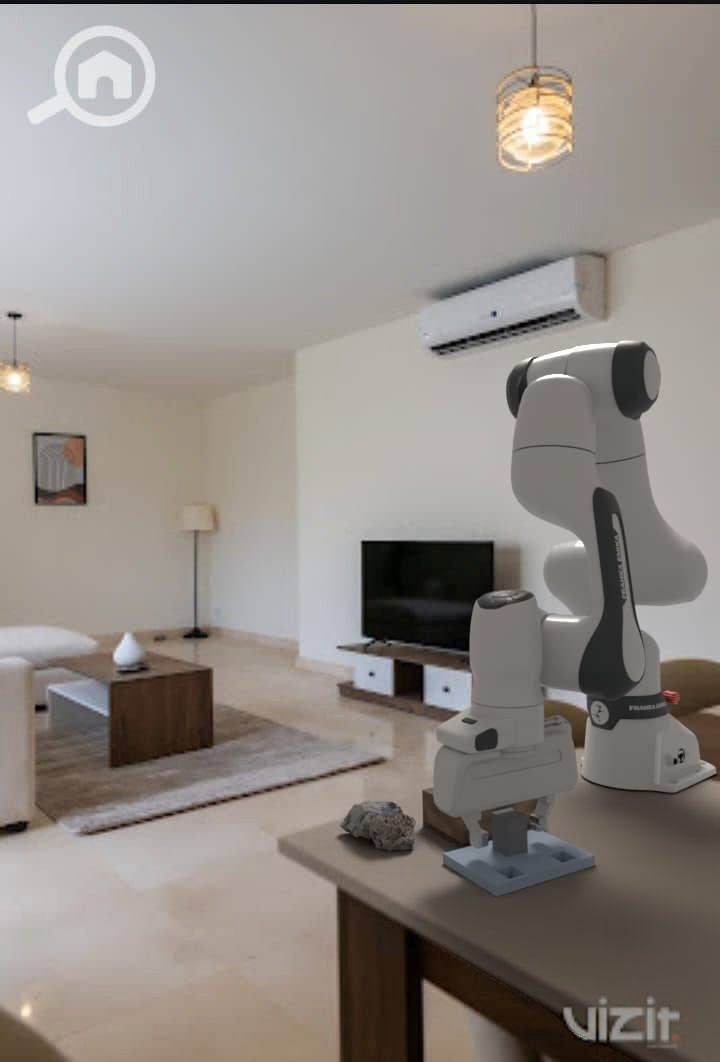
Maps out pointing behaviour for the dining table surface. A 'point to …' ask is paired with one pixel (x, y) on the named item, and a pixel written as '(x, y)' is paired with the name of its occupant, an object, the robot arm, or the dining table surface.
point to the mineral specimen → (381, 824)
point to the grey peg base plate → (516, 856)
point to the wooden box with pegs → (456, 827)
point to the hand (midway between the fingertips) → (509, 837)
